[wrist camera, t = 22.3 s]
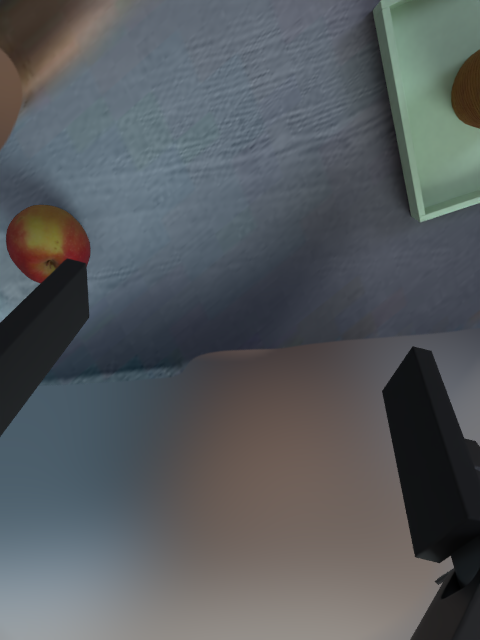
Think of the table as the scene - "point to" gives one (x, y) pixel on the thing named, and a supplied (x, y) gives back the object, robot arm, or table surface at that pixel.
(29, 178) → the table surface
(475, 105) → the disposable coffee cup
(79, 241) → the apple
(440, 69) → the tray
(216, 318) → the table surface
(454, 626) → the robot arm
